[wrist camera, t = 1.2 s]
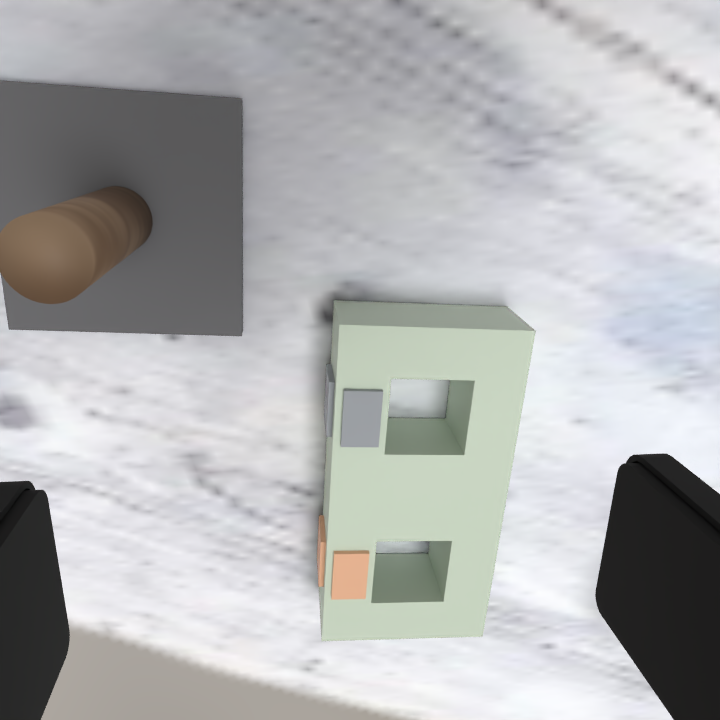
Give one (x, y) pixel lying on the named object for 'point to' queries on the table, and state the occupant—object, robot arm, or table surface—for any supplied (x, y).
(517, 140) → the table surface
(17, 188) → the mat
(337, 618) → the socket block
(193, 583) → the table surface
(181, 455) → the table surface
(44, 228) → the dowel
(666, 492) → the robot arm
